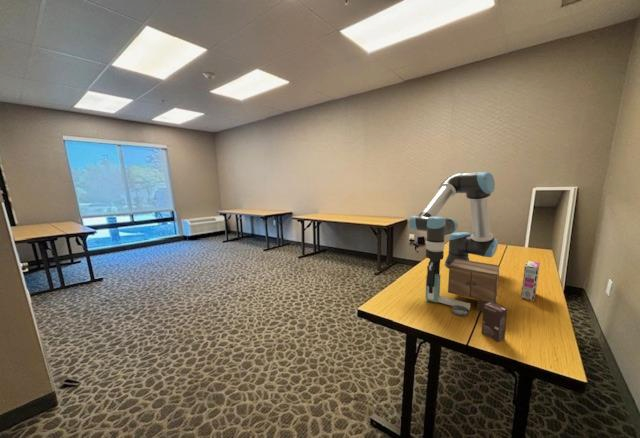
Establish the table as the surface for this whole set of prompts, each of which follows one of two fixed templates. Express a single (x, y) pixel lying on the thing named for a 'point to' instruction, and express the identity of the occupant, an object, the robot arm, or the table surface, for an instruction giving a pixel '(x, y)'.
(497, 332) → the box
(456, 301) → the tool
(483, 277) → the wooden cabinet
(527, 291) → the candy bar box
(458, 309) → the disc
